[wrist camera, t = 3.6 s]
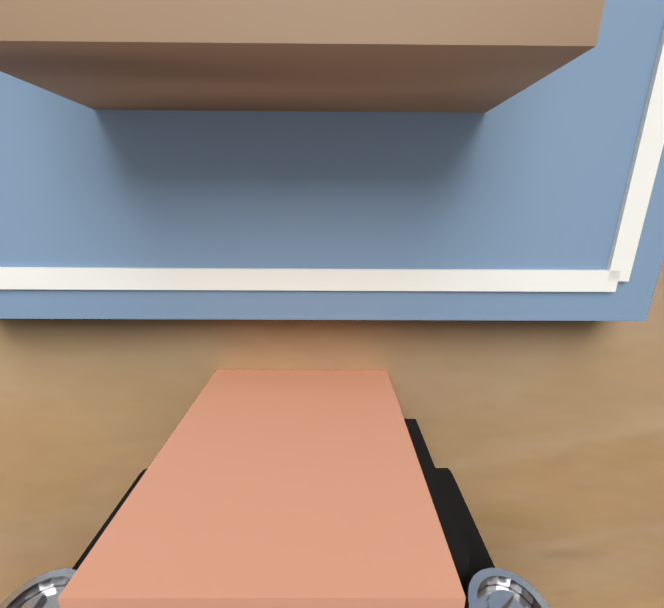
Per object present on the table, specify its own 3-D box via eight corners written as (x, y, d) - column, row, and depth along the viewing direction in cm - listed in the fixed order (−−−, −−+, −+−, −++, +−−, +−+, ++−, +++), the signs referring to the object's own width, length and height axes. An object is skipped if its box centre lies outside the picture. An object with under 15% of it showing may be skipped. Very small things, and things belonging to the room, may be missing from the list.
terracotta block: (379, 505, 11) (430, 816, 6) (230, 505, 11) (124, 817, 6) (386, 370, 10) (466, 597, 4) (216, 369, 10) (57, 598, 4)
